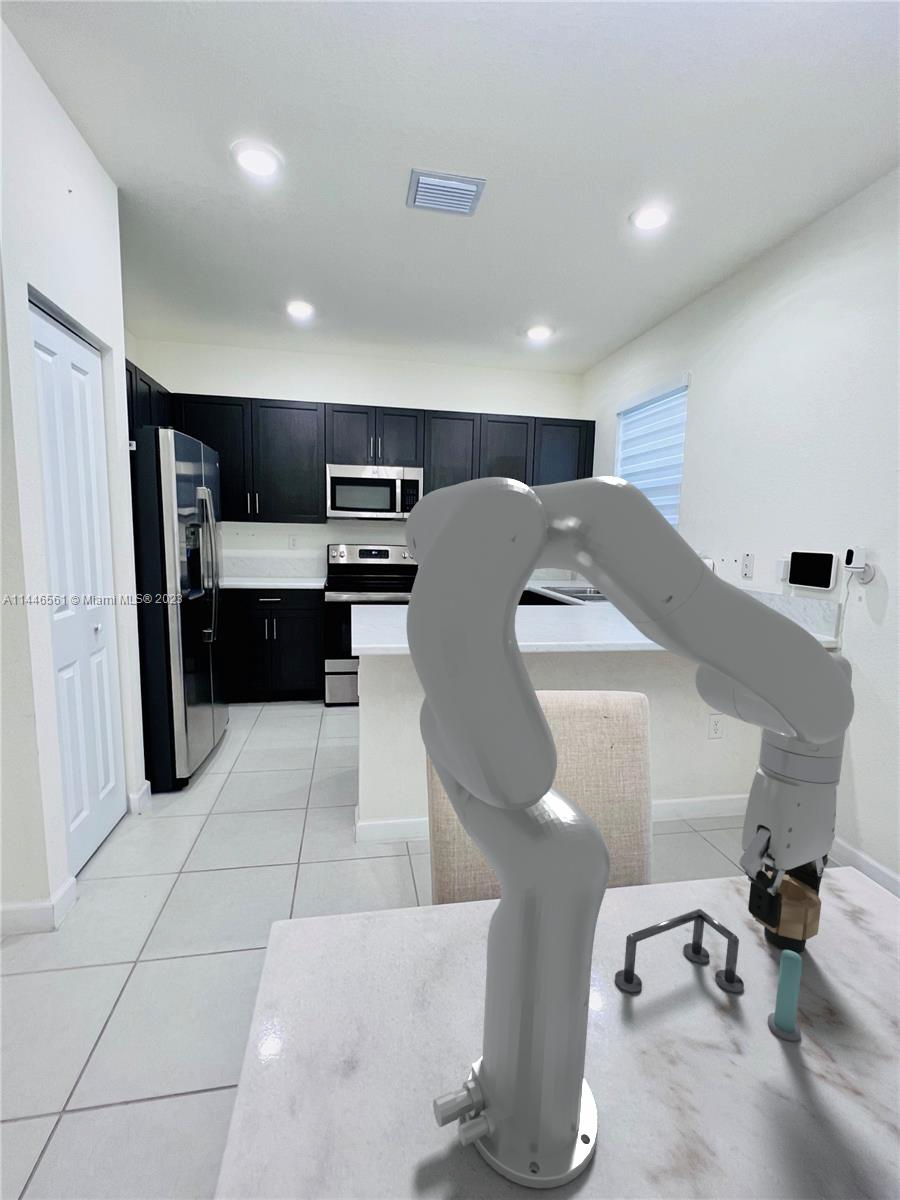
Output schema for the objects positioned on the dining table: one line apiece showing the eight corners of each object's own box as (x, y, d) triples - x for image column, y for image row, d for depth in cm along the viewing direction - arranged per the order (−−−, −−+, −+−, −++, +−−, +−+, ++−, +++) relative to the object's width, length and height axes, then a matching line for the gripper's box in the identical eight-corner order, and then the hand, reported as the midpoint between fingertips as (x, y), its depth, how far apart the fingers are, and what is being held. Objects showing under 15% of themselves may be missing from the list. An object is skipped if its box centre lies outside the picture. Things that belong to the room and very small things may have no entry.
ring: (738, 908, 63) (741, 879, 62) (772, 894, 66) (775, 866, 65) (793, 946, 57) (797, 914, 57) (828, 928, 60) (832, 898, 60)
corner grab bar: (659, 1031, 60) (664, 979, 60) (609, 977, 68) (612, 929, 67) (749, 988, 67) (754, 940, 66) (694, 943, 74) (698, 899, 74)
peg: (788, 1046, 59) (797, 971, 58) (761, 1022, 62) (769, 950, 61) (806, 1035, 61) (815, 962, 60) (779, 1012, 64) (786, 942, 63)
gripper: (810, 738, 67) (795, 874, 69) (716, 759, 59) (702, 911, 61) (880, 761, 60) (861, 911, 62) (784, 788, 52) (766, 958, 54)
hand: (782, 909), depth 61 cm, fingers closed on ring, 6 cm apart
